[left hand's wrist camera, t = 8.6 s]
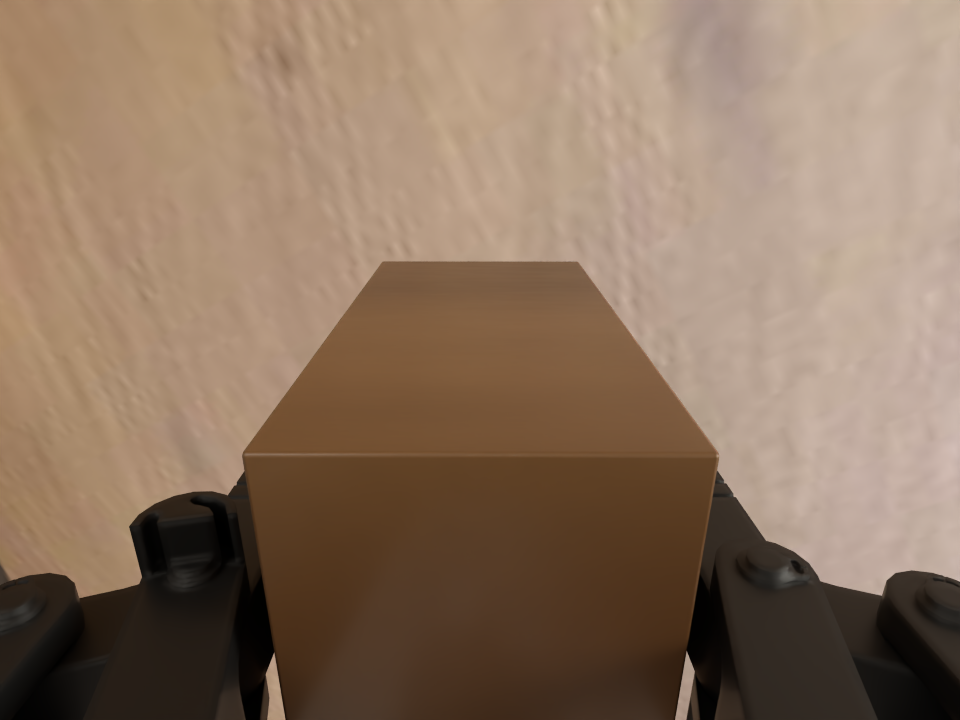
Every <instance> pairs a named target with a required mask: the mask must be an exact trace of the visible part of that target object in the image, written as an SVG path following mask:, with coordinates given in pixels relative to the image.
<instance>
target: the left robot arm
mask: <svg viewBox="0 0 960 720" xmlns="http://www.w3.org/2000/svg"><path fill="white" fill-rule="evenodd" d="M129 528H130V532H131V535H132V539H133V543H134V547H135V551H136V555H137V559H138V563H139V567H140V570H141V574H142V579H141V581H140V583H139V584H138V585H135V586H131V587H128V588H124V589H120V590H115V591H111V592H106V593H102V594H97V595H92V596H88V597H83V598H79V596H78V593H77V590H76V586H75V583H74V582H72V581H71V580H70V579H69V578H68V577H67V576H64V575H58V574H52V573H46V574H37V575H29V576H26V577H22V578H18V579H16V580H12V581H9V582H6V583H4V584H2V585H0V720H267V716H268V706H269V693H268V686H267V680H266V672H267V669H268V667H269V664H270V662H271V659H272V657H273V654H274V646H273V640H272V634H271V628H270V622H269V616H268V610H267V603H266V597H265V591H264V585H263V579H262V573H261V567H260V561H259V555H258V549H257V543H256V537H255V531H254V525H253V518H252V512H251V506H250V500H249V494H248V488H247V482H246V476H245V471H244V473H243V474H242V476H241V477H240V478H239V480H238V481H237V486H234V487H233V489H232V490H231V492H230V493H229V494H228V496H227V495H225V494H221V493H217V492H213V491H209V492H191V493H186V494H182V495H177V496H173V497H171V498H168V499H166V500H163V501H161V502H158V503H156V504H154V505H153V506H151V507H150V508H148V509H147V510H145V511H144V512H142V513H141V514H139V515H138V516H137V518H136V519H135V520H134V521H133V522H132V524H131V525H130V526H129ZM687 652H688V655H689V658H690V660H691V663H692V665H693V668H694V670H695V674H694V680H693V686H692V691H691V697H690V703H689V708H688V714H687V720H960V582H959V581H957V580H954V579H951V578H948V577H944V576H942V575H937V574H934V573H928V572H920V571H906V572H900V573H895V574H894V575H893V576H892V577H891V578H889V579H888V580H887V582H886V585H885V588H884V591H883V594H882V596H880V595H875V594H870V593H866V592H861V591H857V590H852V589H847V588H843V587H838V586H835V585H831V584H827V583H824V582H820V580H819V578H818V576H817V574H816V573H815V571H814V570H813V569H812V567H811V566H810V564H809V563H808V562H806V561H805V560H804V559H802V558H801V557H800V556H799V555H797V554H796V553H795V552H793V551H791V550H789V549H787V548H784V547H782V546H780V545H778V544H776V543H772V542H768V541H766V540H765V539H764V537H763V536H762V535H761V533H760V532H759V530H758V529H757V527H756V526H755V524H754V523H753V522H752V520H751V519H750V517H749V516H748V514H747V513H746V511H745V510H744V509H743V507H742V506H741V504H740V503H739V501H738V500H737V498H736V497H733V493H732V491H731V490H730V488H729V487H728V485H727V484H724V480H723V478H722V477H721V475H720V474H719V472H718V471H717V473H716V479H715V485H714V491H713V497H712V503H711V509H710V514H709V520H708V526H707V532H706V538H705V544H704V550H703V556H702V562H701V568H700V574H699V580H698V586H697V592H696V598H695V604H694V610H693V615H692V621H691V627H690V633H689V639H688V645H687Z"/></svg>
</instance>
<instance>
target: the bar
mask: <svg viewBox="0 0 960 720" xmlns="http://www.w3.org/2000/svg"><path fill="white" fill-rule="evenodd" d="M242 458H243V464H244V470H245V476H246V482H247V488H248V494H249V500H250V506H251V512H252V518H253V525H254V531H255V537H256V543H257V549H258V555H259V561H260V567H261V573H262V579H263V585H264V591H265V597H266V603H267V610H268V616H269V622H270V628H271V634H272V640H273V646H274V652H275V658H276V664H277V670H278V676H279V682H280V689H281V695H282V701H283V707H284V713H285V719H286V720H675V716H676V710H677V705H678V699H679V693H680V687H681V681H682V675H683V669H684V663H685V657H686V651H687V645H688V639H689V633H690V627H691V621H692V615H693V610H694V604H695V598H696V592H697V586H698V580H699V574H700V568H701V562H702V556H703V550H704V544H705V538H706V532H707V526H708V520H709V514H710V509H711V503H712V497H713V491H714V485H715V479H716V473H717V467H718V461H719V454H718V452H717V450H716V449H715V448H714V446H713V445H712V444H711V442H710V441H709V439H708V438H707V437H706V435H705V434H704V433H703V431H702V430H701V429H700V427H699V426H698V425H697V423H696V422H695V420H694V419H693V418H692V416H691V415H690V414H689V412H688V411H687V410H686V408H685V407H684V405H683V404H682V403H681V401H680V400H679V399H678V397H677V396H676V395H675V393H674V392H673V390H672V389H671V388H670V386H669V385H668V384H667V382H666V381H665V380H664V378H663V377H662V376H661V374H660V373H659V371H658V370H657V369H656V367H655V366H654V365H653V363H652V362H651V361H650V359H649V358H648V356H647V355H646V354H645V352H644V351H643V350H642V348H641V347H640V346H639V344H638V343H637V342H636V340H635V339H634V337H633V336H632V335H631V333H630V332H629V331H628V329H627V328H626V327H625V325H624V324H623V322H622V321H621V320H620V318H619V317H618V316H617V314H616V313H615V312H614V310H613V309H612V307H611V306H610V305H609V303H608V302H607V301H606V299H605V298H604V297H603V295H602V294H601V293H600V291H599V290H598V288H597V287H596V286H595V284H594V283H593V282H592V280H591V279H590V278H589V276H588V275H587V273H586V272H585V271H584V269H583V268H582V267H581V265H580V264H579V263H578V262H382V263H381V265H380V266H379V268H378V269H377V270H376V272H375V273H374V274H373V276H372V277H371V278H370V280H369V281H368V283H367V284H366V285H365V287H364V288H363V289H362V291H361V292H360V293H359V295H358V296H357V298H356V299H355V300H354V302H353V303H352V304H351V306H350V307H349V308H348V310H347V311H346V313H345V314H344V315H343V317H342V318H341V319H340V321H339V322H338V324H337V325H336V326H335V328H334V329H333V330H332V332H331V333H330V334H329V336H328V337H327V339H326V340H325V341H324V343H323V344H322V345H321V347H320V348H319V349H318V351H317V352H316V354H315V355H314V356H313V358H312V359H311V360H310V362H309V363H308V364H307V366H306V367H305V369H304V370H303V371H302V373H301V374H300V375H299V377H298V378H297V379H296V381H295V382H294V384H293V385H292V386H291V388H290V389H289V390H288V392H287V393H286V394H285V396H284V397H283V399H282V400H281V401H280V403H279V404H278V405H277V407H276V408H275V410H274V411H273V412H272V414H271V415H270V416H269V418H268V419H267V420H266V422H265V423H264V425H263V426H262V427H261V429H260V430H259V431H258V433H257V434H256V435H255V437H254V438H253V440H252V441H251V442H250V444H249V445H248V446H247V448H246V449H245V450H244V452H243V455H242Z"/></svg>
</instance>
